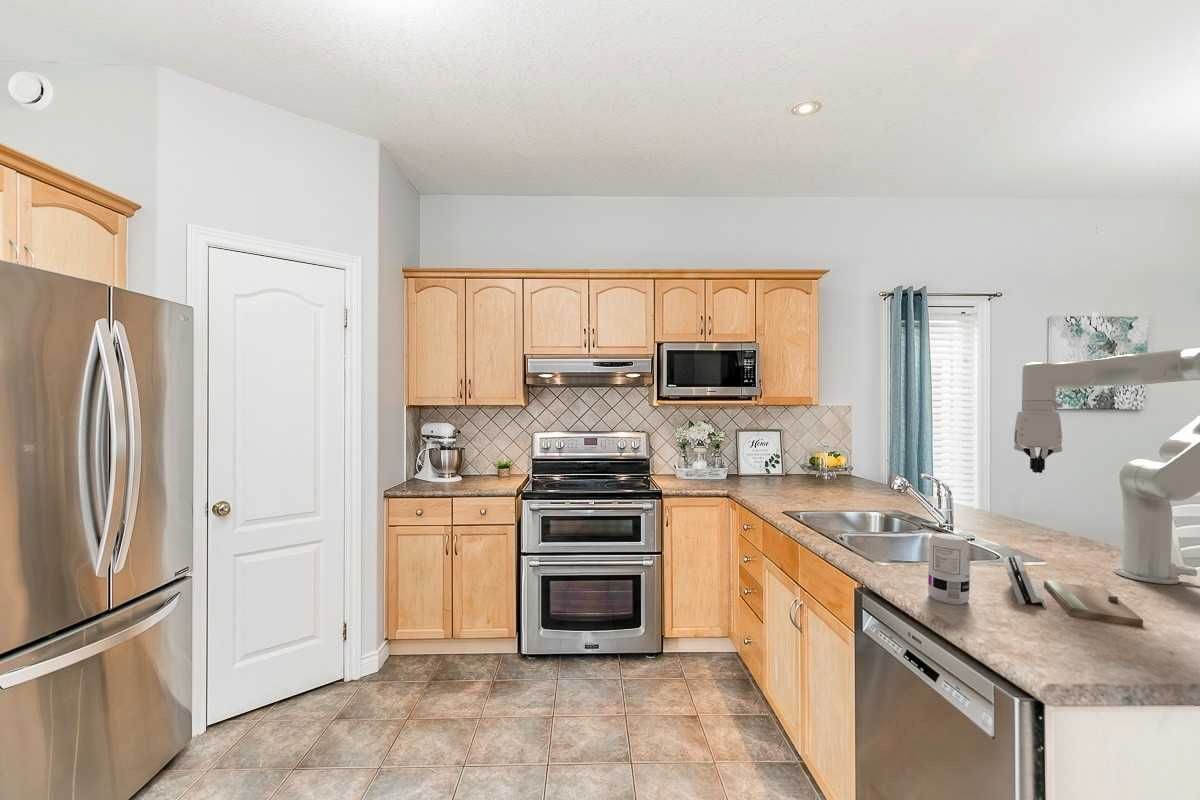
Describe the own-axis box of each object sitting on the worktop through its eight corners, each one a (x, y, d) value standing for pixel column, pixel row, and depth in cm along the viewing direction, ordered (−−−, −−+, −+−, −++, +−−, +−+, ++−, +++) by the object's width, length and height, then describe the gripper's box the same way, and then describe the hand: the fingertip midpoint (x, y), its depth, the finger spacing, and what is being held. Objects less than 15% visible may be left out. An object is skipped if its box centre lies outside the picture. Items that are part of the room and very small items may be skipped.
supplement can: (920, 593, 135) (921, 532, 135) (952, 592, 136) (953, 531, 136) (943, 606, 127) (945, 541, 127) (977, 605, 128) (978, 540, 128)
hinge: (1046, 608, 126) (1029, 564, 128) (1022, 611, 129) (1005, 568, 131) (1038, 587, 140) (1022, 548, 142) (1016, 589, 143) (1000, 551, 145)
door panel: (1104, 594, 136) (1105, 583, 136) (1142, 626, 117) (1143, 614, 117) (1043, 586, 141) (1043, 576, 141) (1070, 616, 122) (1070, 604, 122)
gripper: (1068, 407, 155) (1066, 472, 155) (1003, 406, 162) (1001, 468, 162) (1077, 407, 148) (1075, 476, 149) (1008, 406, 155) (1007, 472, 155)
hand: (1037, 472), depth 155 cm, fingers closed
